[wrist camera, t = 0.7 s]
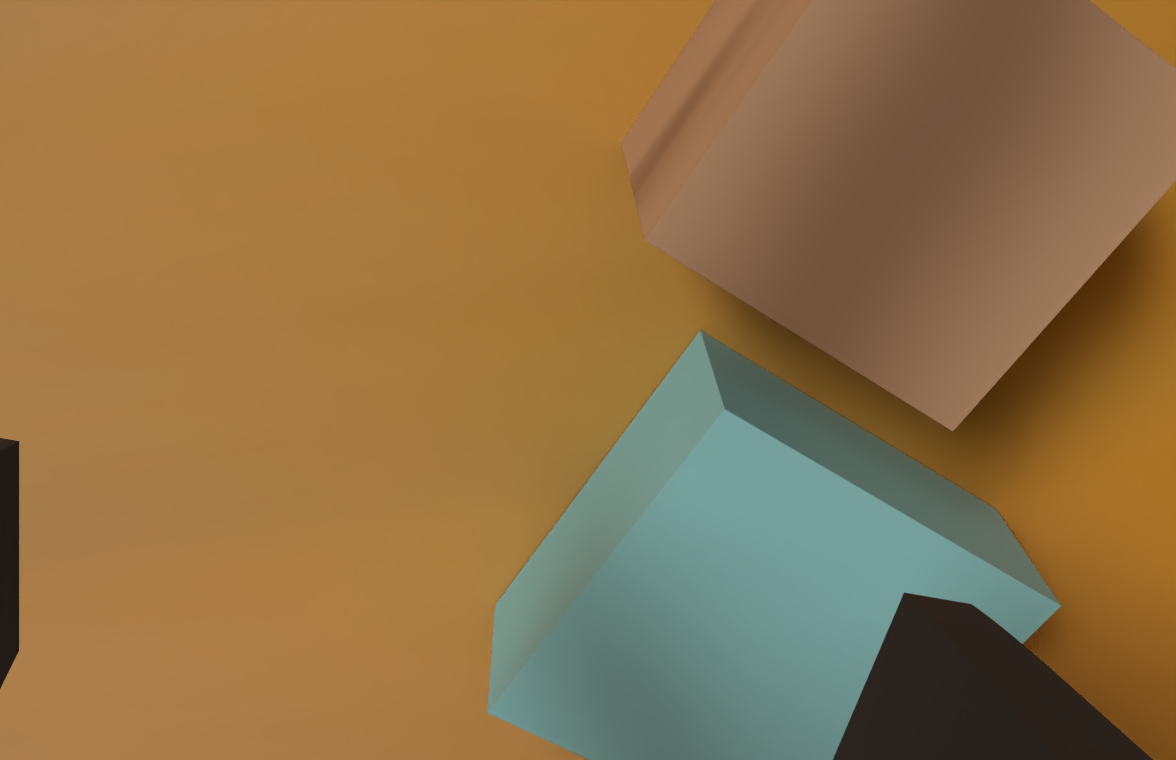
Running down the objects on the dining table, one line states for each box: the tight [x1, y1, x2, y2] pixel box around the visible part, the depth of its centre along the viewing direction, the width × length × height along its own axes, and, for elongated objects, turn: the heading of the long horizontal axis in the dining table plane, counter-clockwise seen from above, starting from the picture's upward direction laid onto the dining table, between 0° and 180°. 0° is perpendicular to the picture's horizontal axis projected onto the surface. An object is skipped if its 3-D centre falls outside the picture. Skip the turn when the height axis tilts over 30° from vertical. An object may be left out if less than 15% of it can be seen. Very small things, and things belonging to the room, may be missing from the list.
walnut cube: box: [622, 0, 1176, 431], centre depth 15 cm, size 5×5×5 cm
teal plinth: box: [487, 331, 1061, 760], centre depth 20 cm, size 7×7×3 cm
